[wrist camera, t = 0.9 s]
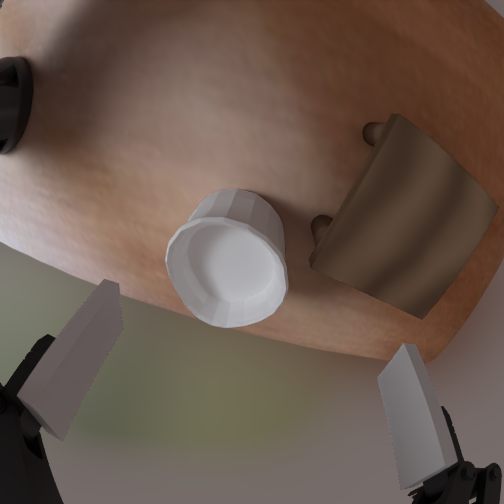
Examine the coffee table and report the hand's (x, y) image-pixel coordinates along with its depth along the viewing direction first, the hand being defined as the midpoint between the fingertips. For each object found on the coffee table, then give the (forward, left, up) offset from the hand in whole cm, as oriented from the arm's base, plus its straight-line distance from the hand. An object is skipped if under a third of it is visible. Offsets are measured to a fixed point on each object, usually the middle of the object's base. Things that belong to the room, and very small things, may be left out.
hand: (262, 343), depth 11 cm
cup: (-2, -4, -19) cm, 19 cm away
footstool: (+11, +6, -18) cm, 22 cm away
